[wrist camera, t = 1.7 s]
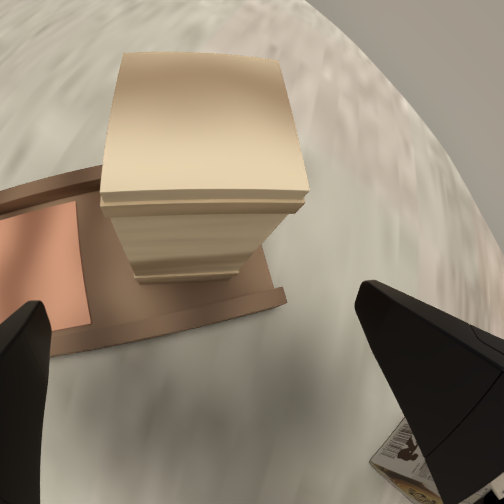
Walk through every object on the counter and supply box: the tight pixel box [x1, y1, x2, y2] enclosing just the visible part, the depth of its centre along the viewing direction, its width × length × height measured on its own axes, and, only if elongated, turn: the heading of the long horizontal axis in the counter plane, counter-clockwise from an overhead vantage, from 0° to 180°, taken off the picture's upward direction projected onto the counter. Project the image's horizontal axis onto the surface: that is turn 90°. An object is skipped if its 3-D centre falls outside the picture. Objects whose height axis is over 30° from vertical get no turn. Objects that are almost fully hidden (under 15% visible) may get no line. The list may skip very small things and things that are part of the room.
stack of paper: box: [100, 52, 310, 285], centre depth 14 cm, size 6×6×12 cm
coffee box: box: [370, 418, 491, 504], centre depth 13 cm, size 9×6×16 cm
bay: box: [0, 165, 287, 357], centre depth 18 cm, size 21×11×2 cm, turn 106°
